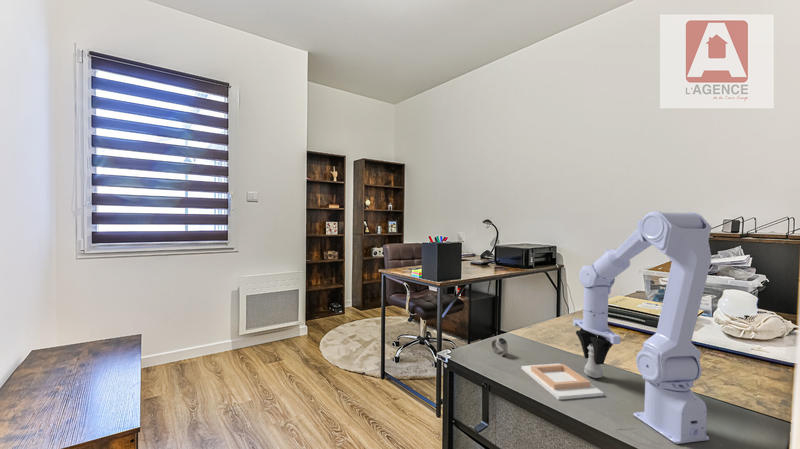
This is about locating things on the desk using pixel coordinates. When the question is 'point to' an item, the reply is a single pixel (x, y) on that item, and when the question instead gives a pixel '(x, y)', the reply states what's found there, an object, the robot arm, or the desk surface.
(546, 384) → the socket holder
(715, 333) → the desk surface
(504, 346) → the wristwatch
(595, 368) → the rook chess piece
